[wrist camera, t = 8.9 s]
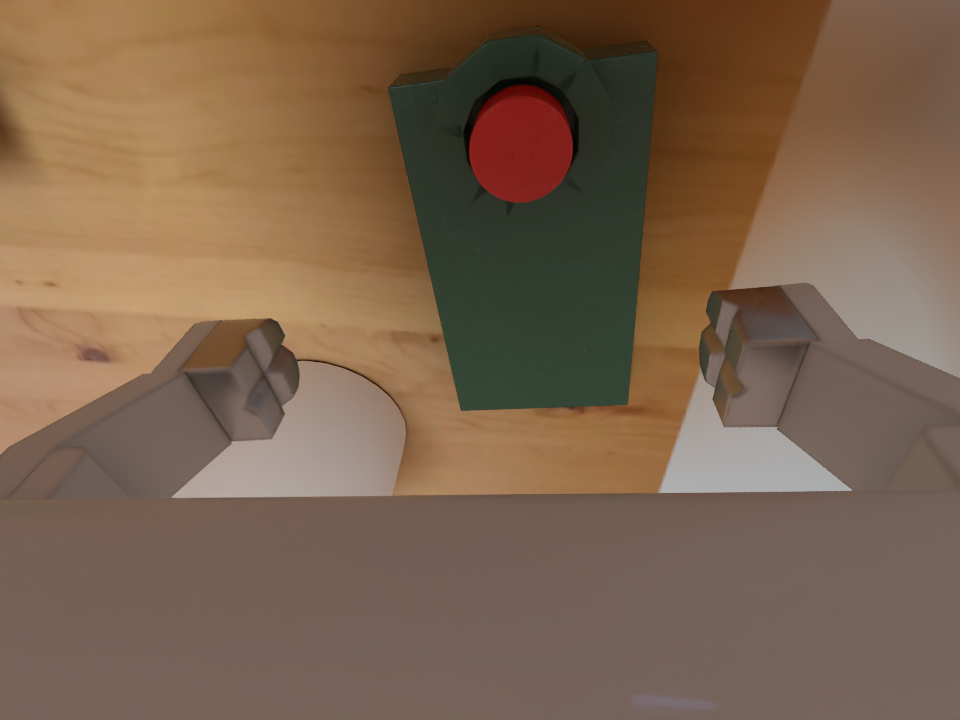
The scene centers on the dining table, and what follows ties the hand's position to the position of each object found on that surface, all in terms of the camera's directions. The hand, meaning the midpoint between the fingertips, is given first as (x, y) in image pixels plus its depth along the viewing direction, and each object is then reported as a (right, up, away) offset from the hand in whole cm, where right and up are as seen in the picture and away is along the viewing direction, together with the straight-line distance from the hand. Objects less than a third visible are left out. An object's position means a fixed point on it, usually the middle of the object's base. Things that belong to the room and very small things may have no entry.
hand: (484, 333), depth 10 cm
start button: (+1, +8, +9) cm, 12 cm away
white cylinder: (-11, -5, +26) cm, 29 cm away
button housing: (+3, +5, +16) cm, 17 cm away
